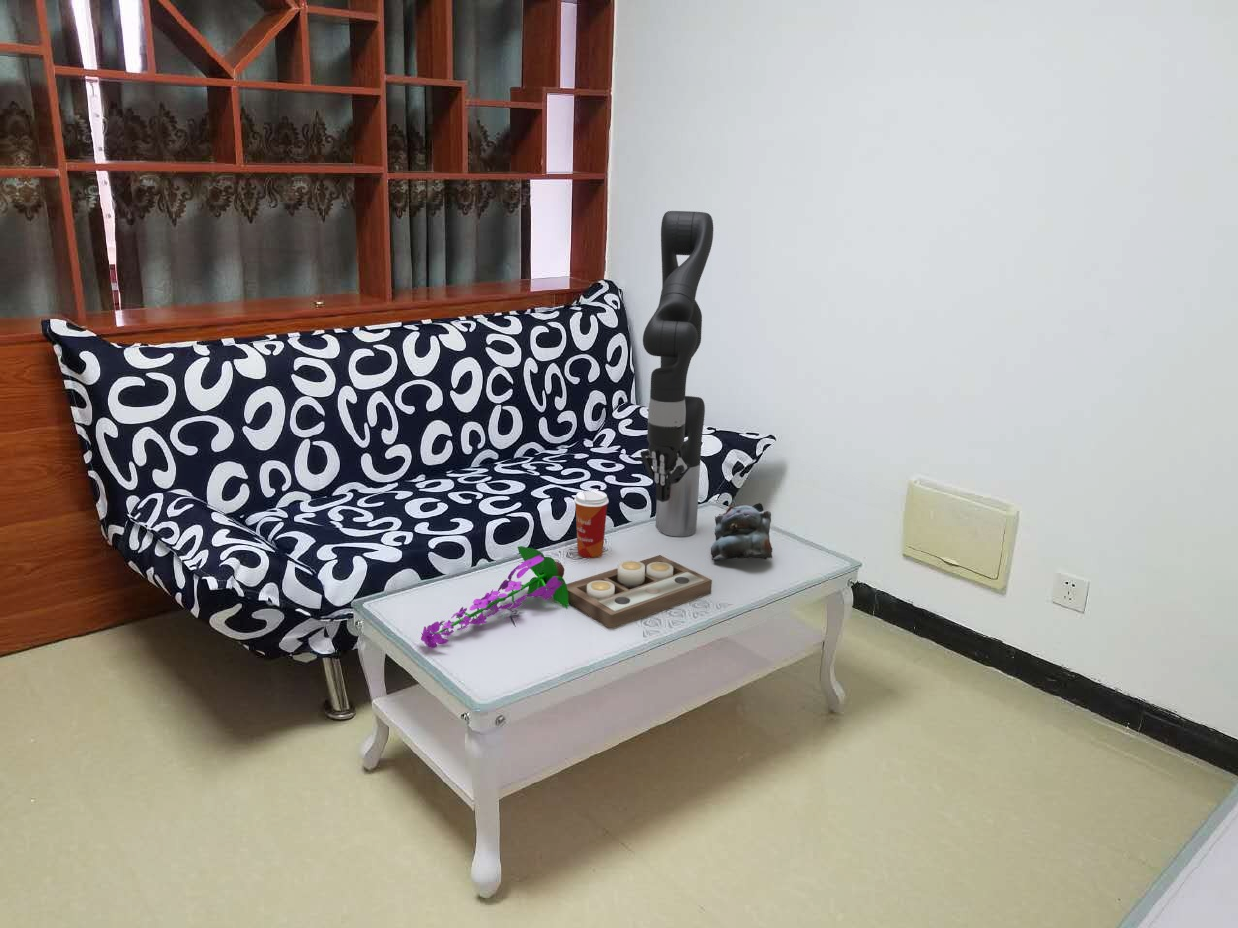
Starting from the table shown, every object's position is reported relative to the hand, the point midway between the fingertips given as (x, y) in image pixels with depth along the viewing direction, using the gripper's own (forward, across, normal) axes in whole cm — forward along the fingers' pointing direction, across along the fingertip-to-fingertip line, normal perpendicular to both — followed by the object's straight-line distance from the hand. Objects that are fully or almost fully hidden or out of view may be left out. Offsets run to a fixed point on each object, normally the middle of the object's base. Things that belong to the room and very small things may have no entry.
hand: (662, 500), depth 200 cm
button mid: (+15, +1, -9) cm, 18 cm away
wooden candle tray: (+18, +3, -9) cm, 20 cm away
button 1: (+17, +1, -17) cm, 24 cm away
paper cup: (+19, -20, -3) cm, 28 cm away
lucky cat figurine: (+19, +1, +23) cm, 30 cm away
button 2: (+18, +1, -1) cm, 18 cm away
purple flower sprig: (+18, -4, -37) cm, 42 cm away
